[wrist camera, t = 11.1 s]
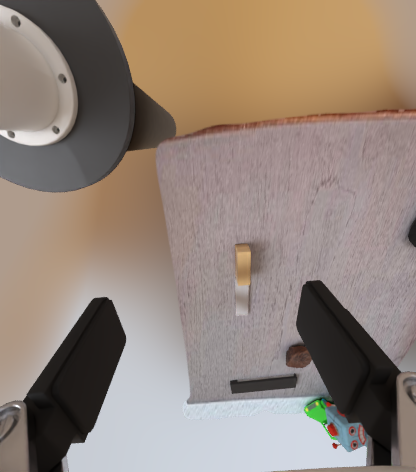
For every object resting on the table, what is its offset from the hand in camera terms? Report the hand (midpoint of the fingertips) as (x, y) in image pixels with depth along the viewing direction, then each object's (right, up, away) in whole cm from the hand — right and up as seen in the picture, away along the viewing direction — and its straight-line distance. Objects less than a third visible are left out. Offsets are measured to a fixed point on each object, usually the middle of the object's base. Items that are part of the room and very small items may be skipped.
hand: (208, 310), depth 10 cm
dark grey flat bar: (+15, -34, +42) cm, 56 cm away
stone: (+22, -24, +38) cm, 50 cm away
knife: (+7, -5, +28) cm, 30 cm away
